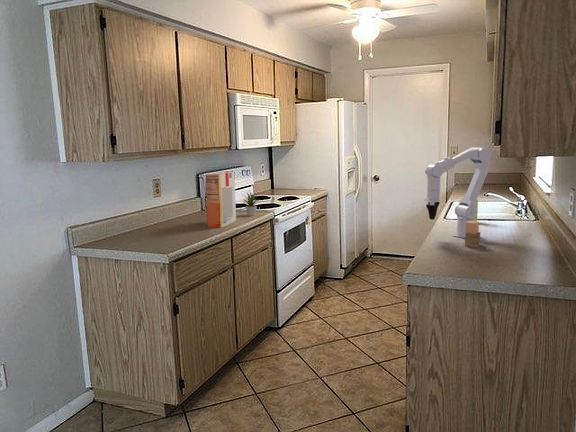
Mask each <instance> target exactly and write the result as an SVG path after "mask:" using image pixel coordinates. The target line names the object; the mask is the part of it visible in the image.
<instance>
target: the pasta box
mask: <svg viewBox="0 0 576 432" xmlns="http://www.w3.org/2000/svg"><path fill="white" fill-rule="evenodd" d="M204 176H205V177H204V178H205V179H204V181H205V198H206V199H205V200H206V218H207V219H206V221H207V228H217V229H221V228H223V227H226V226H228V225H230V224H232V223H235V222H236V221H237V209H236V206H237V205H236V184H235V183H236V181H235V171H233V170H232V171H224V170H223V171H218V172H217V171H216V172H211V173H207V174H205V175H204Z"/></svg>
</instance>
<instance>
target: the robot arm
mask: <svg viewBox="0 0 576 432" xmlns="http://www.w3.org/2000/svg"><path fill="white" fill-rule="evenodd" d="M492 156H493V154H492V152H491V150H490V149H489V148H488V147H486V146H485V147H477V146H472V147H470V148H467V149H466V150H464V151H463V152H461V153H458V154H457V155H455V156H453V157H447V156H444V157H443V159H442V160H439V161H435V163H434V164H429V165H428V166H427V167H426V169H425V170H424V172H425V174H426V177H427V178H426V179H427V186H426V187H427V190H426V198H423V199H424V201H426V202H427V204H426V205H425V206H426V208H427V211H428V218H429V220H435V218H436V216H437V212H438V209H439V208H438V207H439V206H440V203H441V202H440V200H441V199H440V198H441V197H440V196H441V195H440V193H441V177H442V176H443V174H444V173H446V172H448V171H450V170H453V169H454V168H455V165H457V164H459V163H461V162H464V161H467V160H469V159H470V161H471V162H472V163H473V164H474V166H475V168H476V169H475V171H474V173H473V175H472V179H471V181H470V184H469V186H468V187H467V191H466V193H465V195H464V198H462V199H461V200H459V202H458V204H457V205H456V206H455V208H454V213H455V215H456V218H457V221H456V224H457V225H456V226H457V227H456V234H453V235H452V236H453V237H458V238H461V239H465V236H466V222H467V221H476V220H475V219H474V217H475V216H476V214H477V215H478V212H477V207H479V204H478V205H477V203H476V200H477V199H478V197H479V194H480V193H481V189H482V188H483V185H484V182H485V180H486V177H487V175H488V173H489V170H490V165H491V158H492Z"/></svg>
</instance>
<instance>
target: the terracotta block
mask: <svg viewBox="0 0 576 432" xmlns="http://www.w3.org/2000/svg"><path fill="white" fill-rule="evenodd" d="M479 224H480V223H479V221H478V220H477V221H467V222H466V233H468V234H477V233H478V232H479V227H480V226H479Z"/></svg>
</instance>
